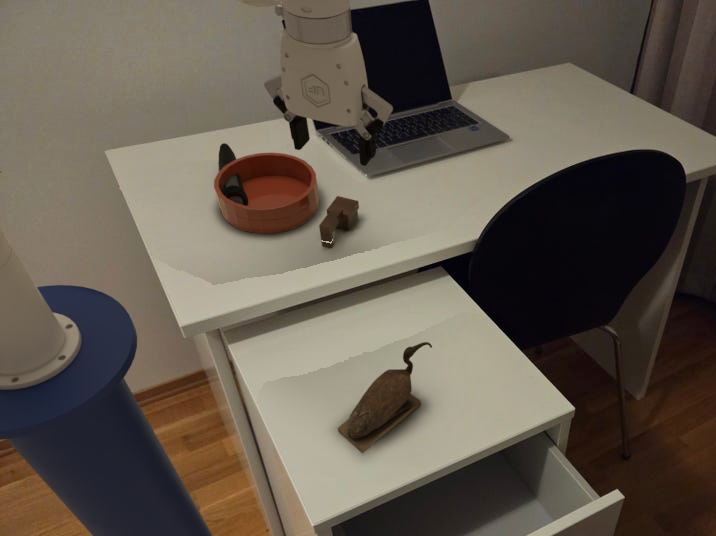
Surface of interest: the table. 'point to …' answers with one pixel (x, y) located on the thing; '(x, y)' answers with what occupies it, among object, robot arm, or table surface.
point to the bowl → (269, 192)
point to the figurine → (382, 405)
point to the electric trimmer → (231, 178)
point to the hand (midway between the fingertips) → (334, 152)
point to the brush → (338, 218)
